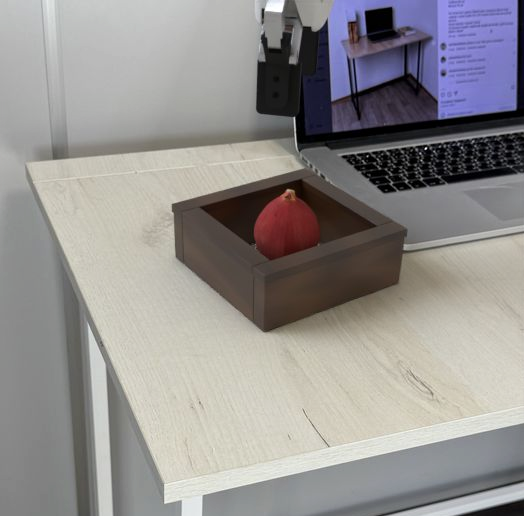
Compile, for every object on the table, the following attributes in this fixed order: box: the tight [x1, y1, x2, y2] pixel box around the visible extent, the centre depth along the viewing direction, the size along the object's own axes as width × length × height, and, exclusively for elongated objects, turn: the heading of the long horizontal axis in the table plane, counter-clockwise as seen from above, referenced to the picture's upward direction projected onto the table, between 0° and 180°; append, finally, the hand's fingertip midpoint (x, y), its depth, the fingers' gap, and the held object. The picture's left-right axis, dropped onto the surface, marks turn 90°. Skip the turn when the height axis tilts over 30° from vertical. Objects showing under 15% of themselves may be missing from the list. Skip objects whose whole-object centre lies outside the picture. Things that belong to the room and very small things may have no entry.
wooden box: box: [171, 167, 408, 333], centre depth 78 cm, size 15×15×5 cm
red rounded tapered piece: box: [254, 189, 320, 261], centre depth 78 cm, size 6×6×8 cm
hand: (287, 92), depth 70 cm, fingers open, 9 cm apart
